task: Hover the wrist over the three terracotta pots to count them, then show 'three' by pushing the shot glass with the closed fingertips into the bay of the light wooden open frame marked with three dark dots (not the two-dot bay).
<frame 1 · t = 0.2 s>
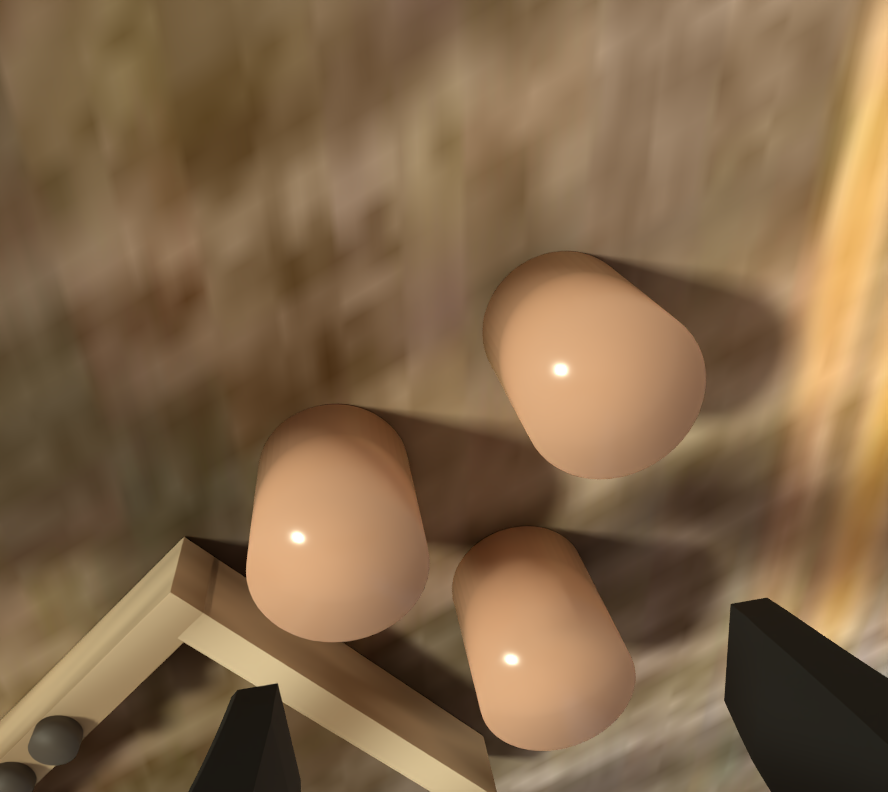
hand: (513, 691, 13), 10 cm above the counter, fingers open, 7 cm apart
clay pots: (511, 492, 23), on the counter
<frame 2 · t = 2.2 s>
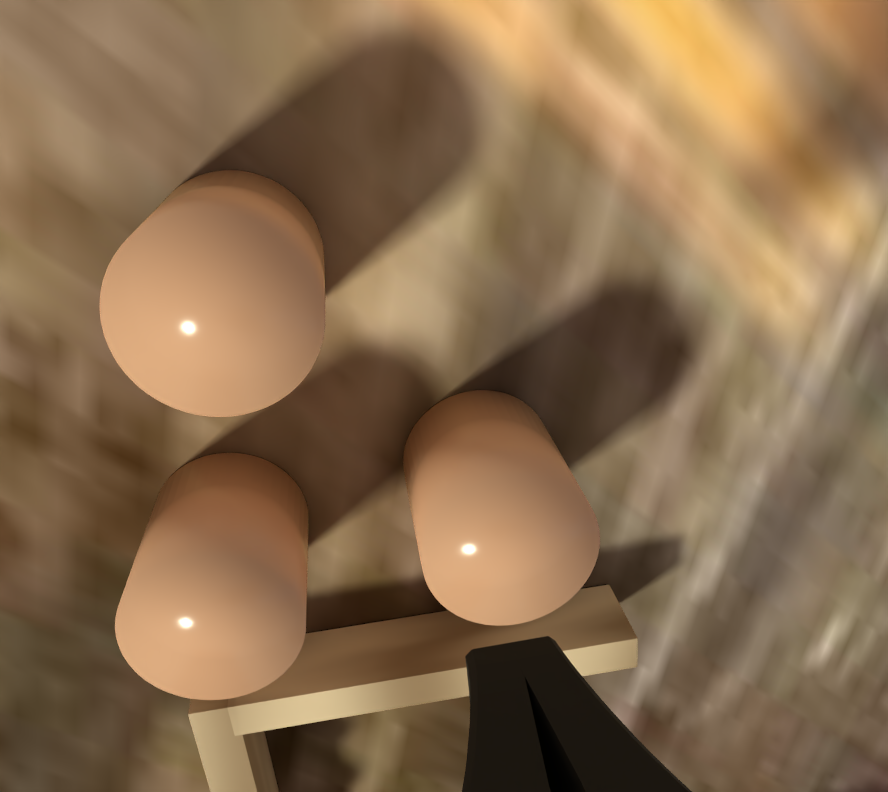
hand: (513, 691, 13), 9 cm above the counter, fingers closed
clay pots: (376, 405, 21), on the counter
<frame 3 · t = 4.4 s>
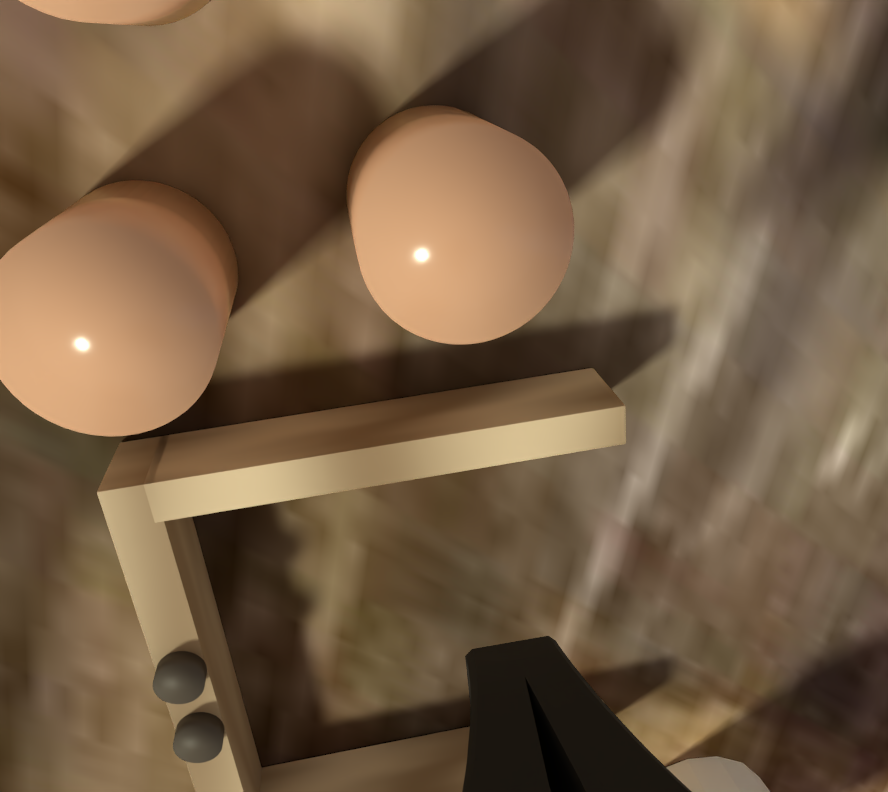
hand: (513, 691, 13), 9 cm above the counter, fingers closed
light wooden open frame: (418, 748, 26), on the counter
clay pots: (311, 121, 18), on the counter
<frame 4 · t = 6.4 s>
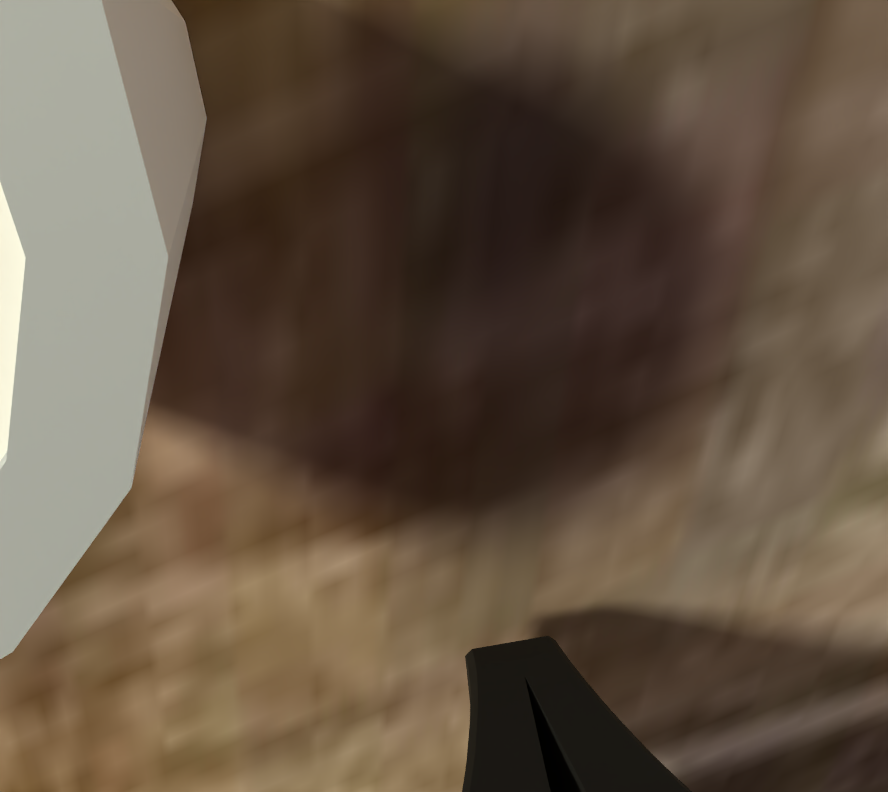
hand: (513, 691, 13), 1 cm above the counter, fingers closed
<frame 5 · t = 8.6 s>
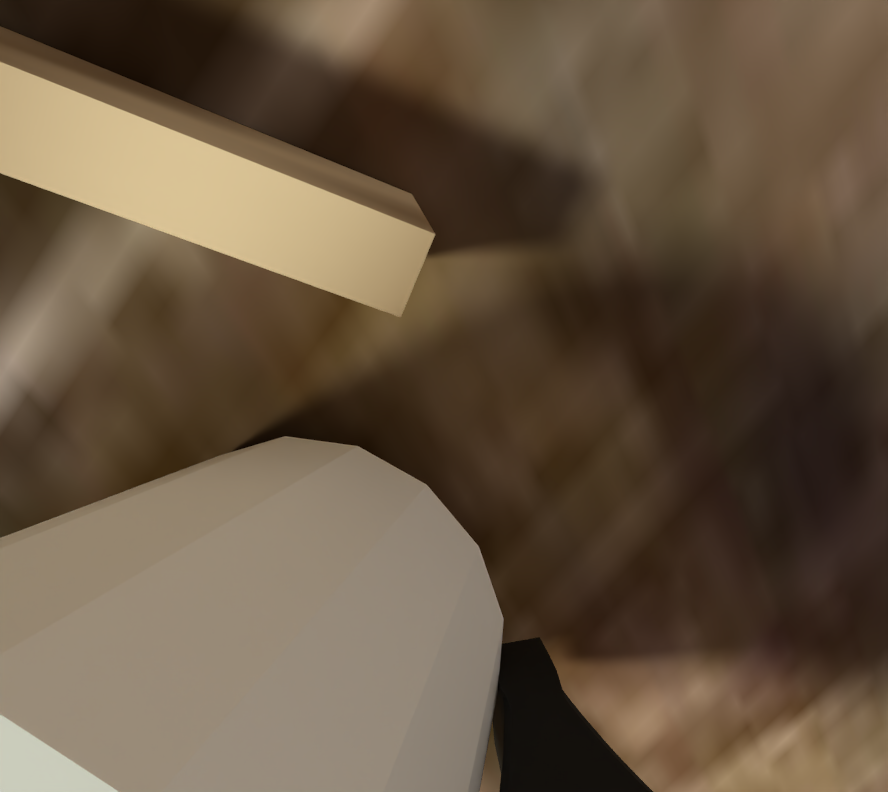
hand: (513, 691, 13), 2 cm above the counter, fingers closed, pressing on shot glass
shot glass: (323, 612, 12), point 1 cm above the counter, touching gripper
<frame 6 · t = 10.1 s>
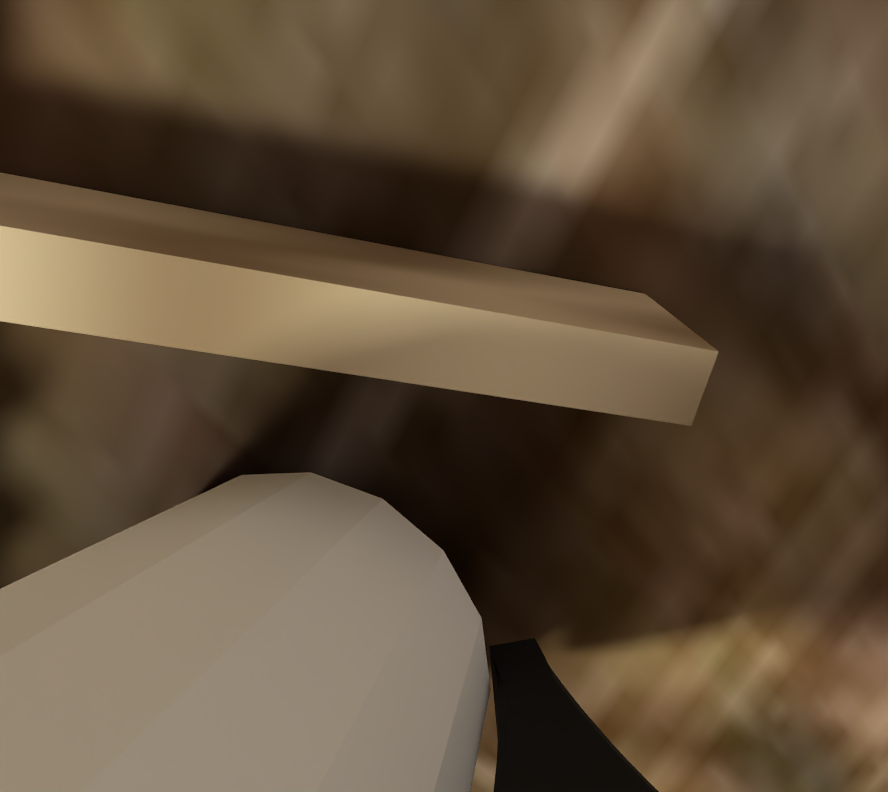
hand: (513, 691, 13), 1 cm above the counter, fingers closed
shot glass: (312, 641, 12), point 1 cm above the counter, touching gripper
light wooden open frame: (221, 252, 11), on the counter
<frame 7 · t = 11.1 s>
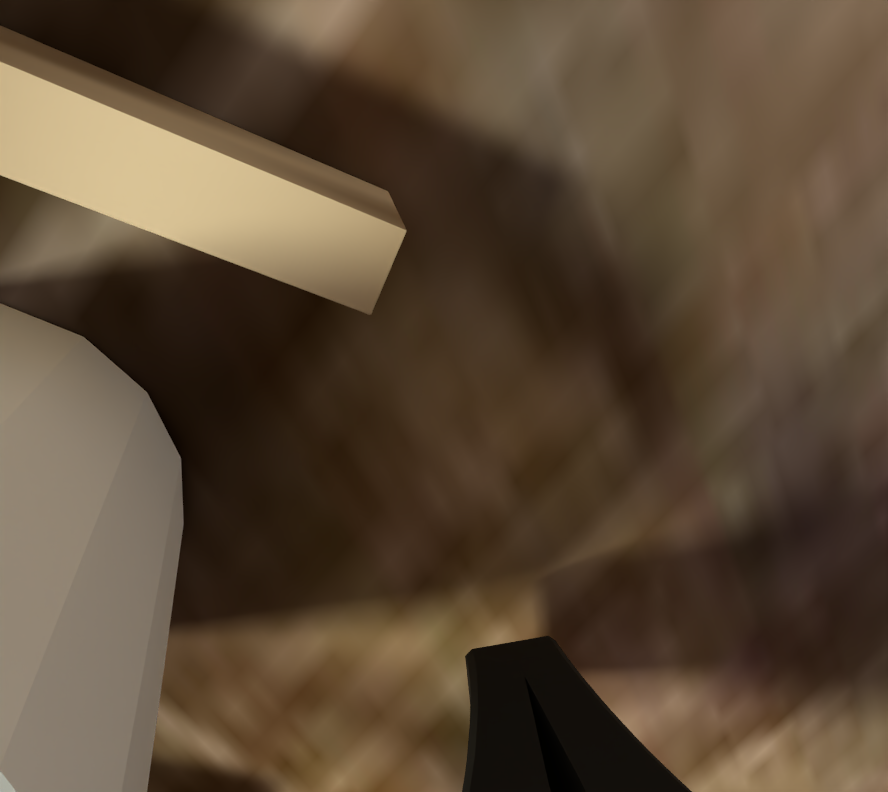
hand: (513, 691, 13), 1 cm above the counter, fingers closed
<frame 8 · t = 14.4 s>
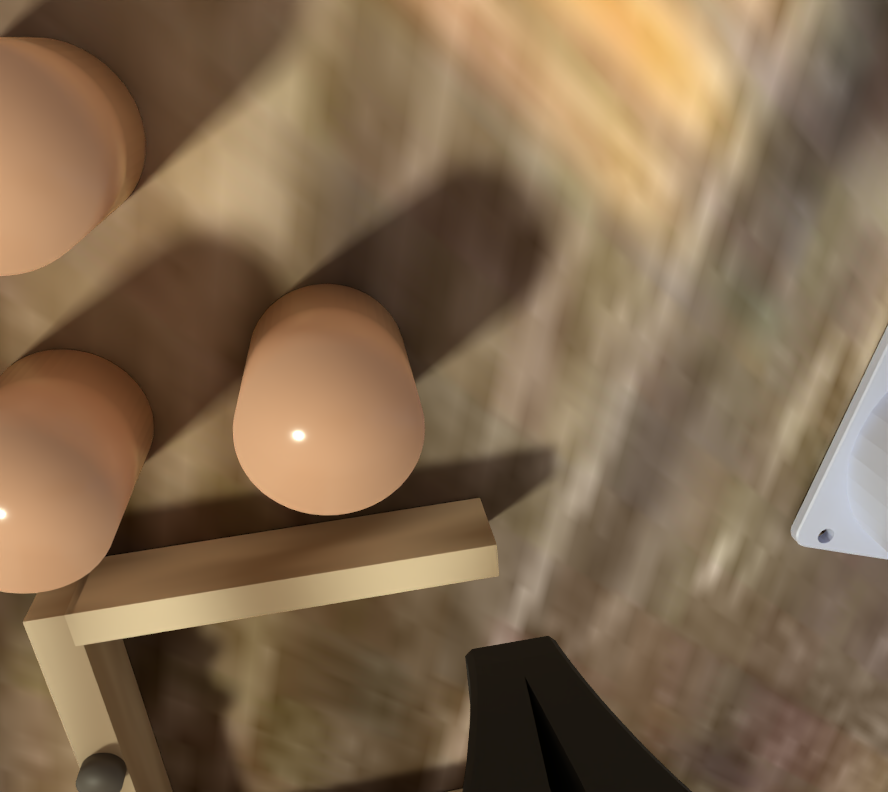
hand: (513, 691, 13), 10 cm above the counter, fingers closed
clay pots: (215, 298, 20), on the counter
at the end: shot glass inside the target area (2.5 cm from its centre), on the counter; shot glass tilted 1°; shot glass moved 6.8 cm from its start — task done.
